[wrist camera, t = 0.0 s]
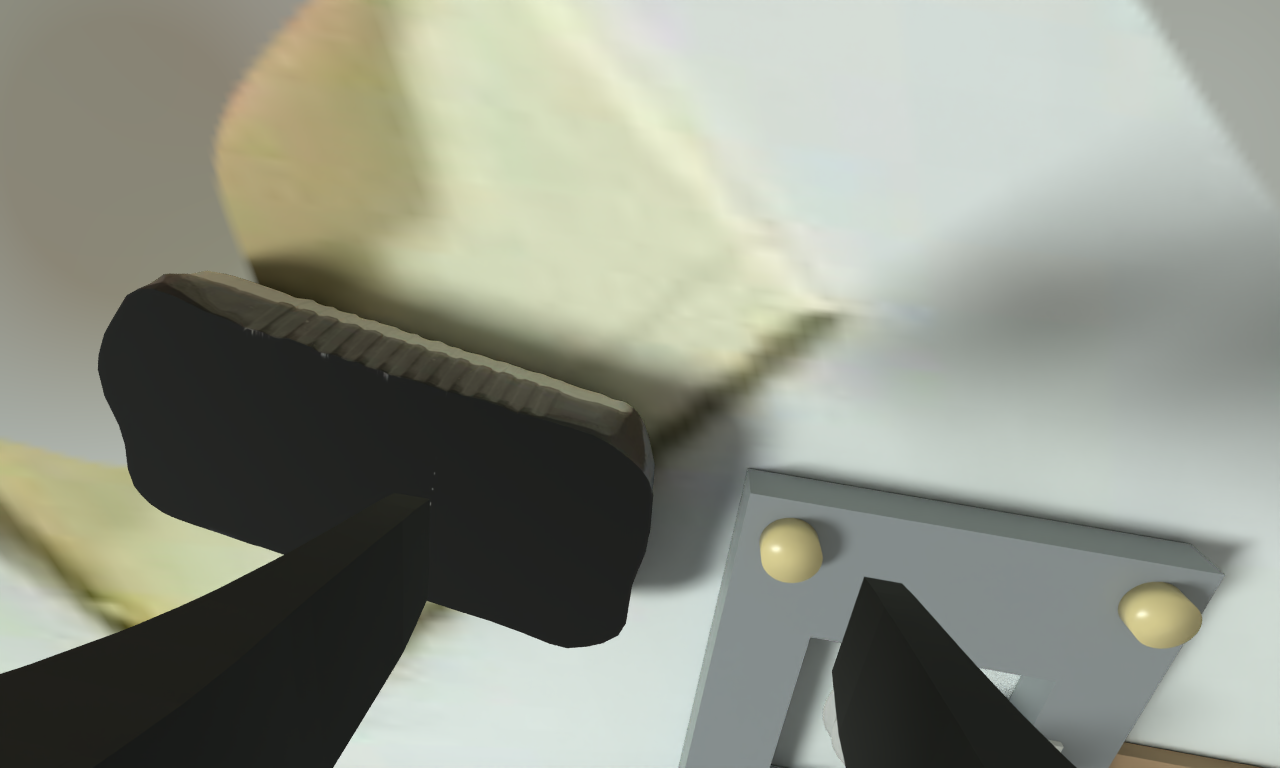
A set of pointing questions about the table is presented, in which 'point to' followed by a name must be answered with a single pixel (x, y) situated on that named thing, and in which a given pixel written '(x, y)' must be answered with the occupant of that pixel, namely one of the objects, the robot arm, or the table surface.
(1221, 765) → the walnut pad
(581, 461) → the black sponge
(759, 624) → the cover plate
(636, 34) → the table surface
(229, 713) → the robot arm
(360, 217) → the table surface
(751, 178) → the table surface
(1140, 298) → the table surface
